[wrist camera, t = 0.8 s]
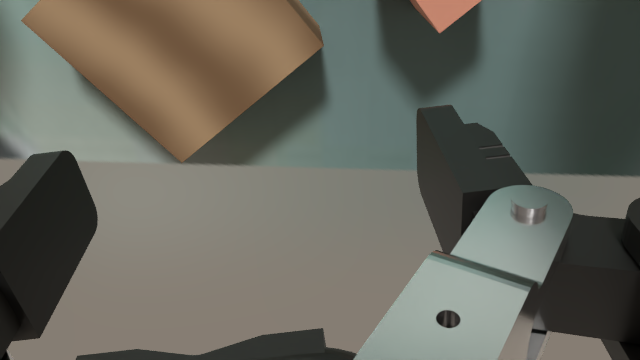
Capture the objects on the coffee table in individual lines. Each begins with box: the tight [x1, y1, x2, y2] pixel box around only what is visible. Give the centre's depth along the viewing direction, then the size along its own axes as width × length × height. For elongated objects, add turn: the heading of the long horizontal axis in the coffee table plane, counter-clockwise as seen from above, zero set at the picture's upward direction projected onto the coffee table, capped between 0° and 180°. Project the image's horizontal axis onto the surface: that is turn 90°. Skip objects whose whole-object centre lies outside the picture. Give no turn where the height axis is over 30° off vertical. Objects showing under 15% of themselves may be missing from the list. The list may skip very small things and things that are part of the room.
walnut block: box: [21, 0, 324, 163], centre depth 32 cm, size 12×12×5 cm
